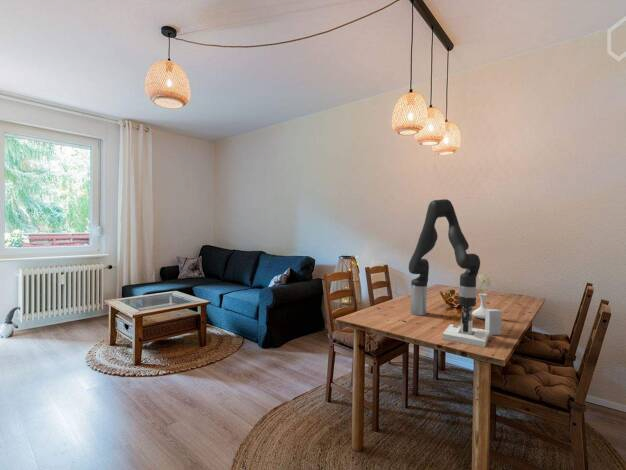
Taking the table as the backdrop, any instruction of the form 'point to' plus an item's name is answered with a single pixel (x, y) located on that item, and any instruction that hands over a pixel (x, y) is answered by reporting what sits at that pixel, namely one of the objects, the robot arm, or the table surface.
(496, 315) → the skincare box
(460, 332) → the plug
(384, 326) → the table surface
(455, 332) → the socket plate
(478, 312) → the flower in vase
